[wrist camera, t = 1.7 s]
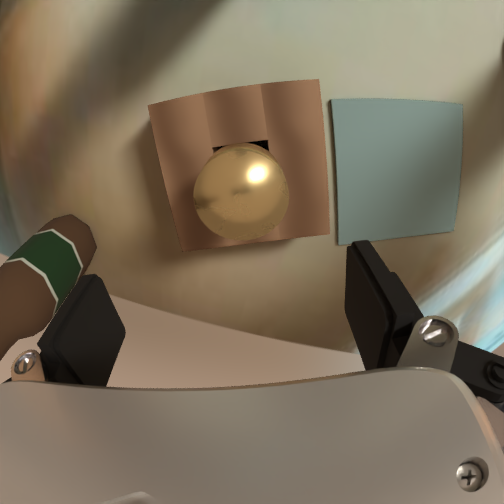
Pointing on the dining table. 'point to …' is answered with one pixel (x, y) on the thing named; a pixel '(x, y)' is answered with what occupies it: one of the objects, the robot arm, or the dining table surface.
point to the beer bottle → (42, 277)
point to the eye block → (240, 131)
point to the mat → (396, 167)
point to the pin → (241, 192)
